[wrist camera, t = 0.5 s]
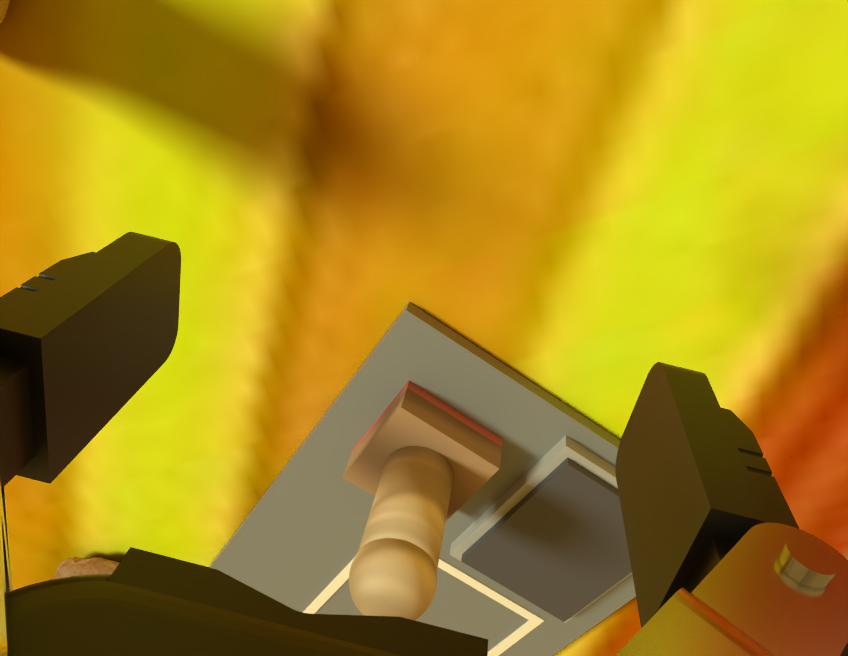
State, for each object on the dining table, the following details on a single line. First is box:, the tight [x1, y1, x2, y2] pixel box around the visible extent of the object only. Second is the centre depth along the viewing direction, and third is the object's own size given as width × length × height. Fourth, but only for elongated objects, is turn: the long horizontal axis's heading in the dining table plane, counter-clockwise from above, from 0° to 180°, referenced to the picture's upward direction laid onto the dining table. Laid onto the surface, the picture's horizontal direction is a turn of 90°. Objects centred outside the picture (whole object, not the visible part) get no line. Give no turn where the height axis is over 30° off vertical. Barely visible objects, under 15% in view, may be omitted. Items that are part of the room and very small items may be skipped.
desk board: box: [209, 302, 636, 656], centre depth 40 cm, size 24×20×2 cm
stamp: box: [343, 380, 502, 620], centre depth 32 cm, size 6×6×10 cm
